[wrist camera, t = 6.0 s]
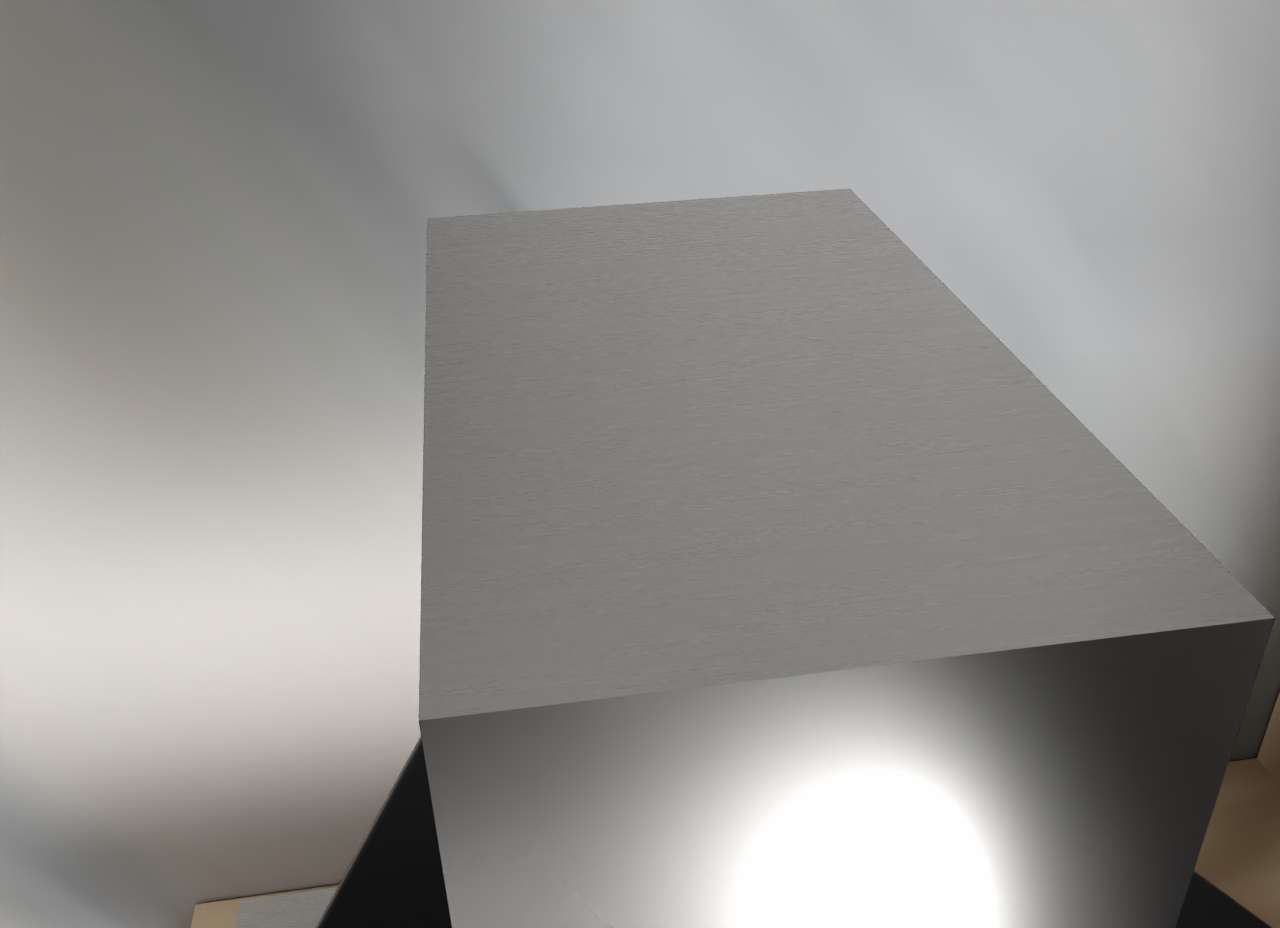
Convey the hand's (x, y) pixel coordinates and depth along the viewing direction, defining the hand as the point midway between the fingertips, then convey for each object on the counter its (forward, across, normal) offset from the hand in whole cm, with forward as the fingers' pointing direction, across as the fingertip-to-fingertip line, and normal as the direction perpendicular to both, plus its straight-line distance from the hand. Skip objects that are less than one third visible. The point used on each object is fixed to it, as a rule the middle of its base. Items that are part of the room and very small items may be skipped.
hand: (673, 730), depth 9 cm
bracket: (+1, +1, +1) cm, 2 cm away
